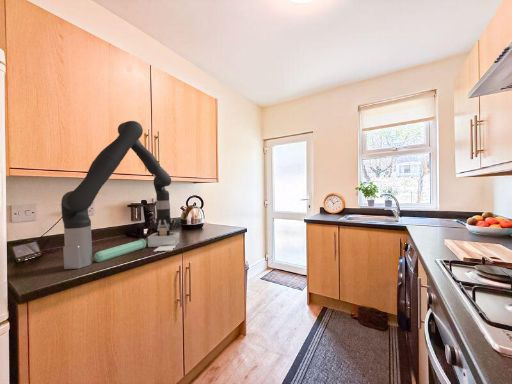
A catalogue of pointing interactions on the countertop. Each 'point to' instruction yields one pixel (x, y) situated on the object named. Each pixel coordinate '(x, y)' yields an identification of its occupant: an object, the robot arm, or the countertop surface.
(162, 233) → the key peg
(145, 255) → the countertop surface
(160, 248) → the pad
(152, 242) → the keyway block
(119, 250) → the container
